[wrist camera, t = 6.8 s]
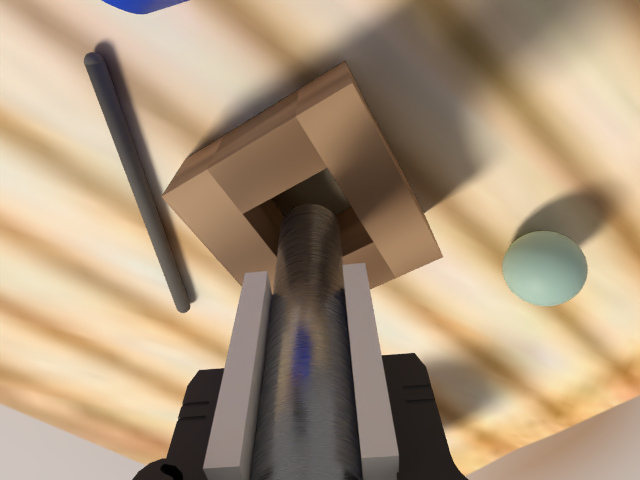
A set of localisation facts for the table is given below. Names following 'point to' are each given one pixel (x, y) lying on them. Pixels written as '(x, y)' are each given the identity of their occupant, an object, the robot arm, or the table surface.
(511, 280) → the loose teal bead
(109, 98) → the thin dark grey rod
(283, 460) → the grey metal cylinder rod
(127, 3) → the bracket
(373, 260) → the square wooden ring
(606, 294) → the table surface
